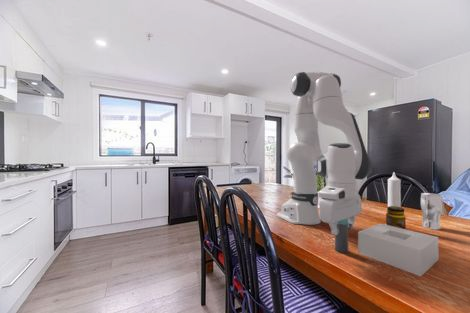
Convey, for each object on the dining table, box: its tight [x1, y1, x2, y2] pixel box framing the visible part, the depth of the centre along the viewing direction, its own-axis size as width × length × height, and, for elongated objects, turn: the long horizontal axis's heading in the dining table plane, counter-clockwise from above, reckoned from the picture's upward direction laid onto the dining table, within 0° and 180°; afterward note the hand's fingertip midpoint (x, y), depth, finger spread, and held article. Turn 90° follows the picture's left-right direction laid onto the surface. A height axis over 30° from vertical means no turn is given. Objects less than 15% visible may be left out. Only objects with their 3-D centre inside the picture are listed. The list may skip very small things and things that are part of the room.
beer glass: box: [420, 192, 443, 231], centre depth 91 cm, size 7×7×15 cm
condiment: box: [385, 206, 407, 230], centre depth 81 cm, size 7×8×12 cm
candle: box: [385, 171, 402, 225], centre depth 91 cm, size 7×7×25 cm
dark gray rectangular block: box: [334, 218, 349, 254], centre depth 70 cm, size 4×4×12 cm
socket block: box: [357, 223, 439, 277], centre depth 66 cm, size 16×16×7 cm
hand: (343, 231), depth 69 cm, fingers open, 8 cm apart
